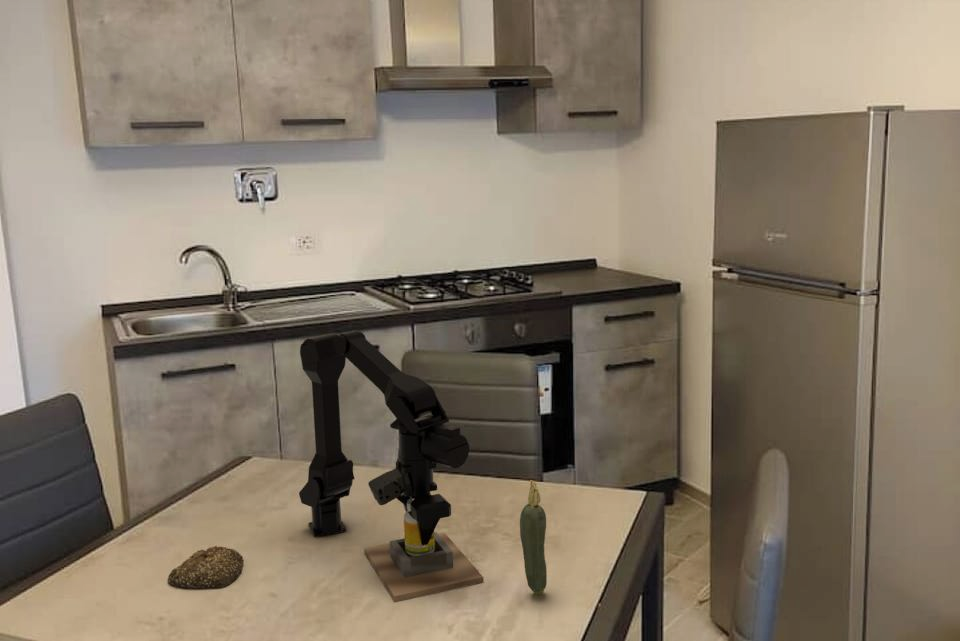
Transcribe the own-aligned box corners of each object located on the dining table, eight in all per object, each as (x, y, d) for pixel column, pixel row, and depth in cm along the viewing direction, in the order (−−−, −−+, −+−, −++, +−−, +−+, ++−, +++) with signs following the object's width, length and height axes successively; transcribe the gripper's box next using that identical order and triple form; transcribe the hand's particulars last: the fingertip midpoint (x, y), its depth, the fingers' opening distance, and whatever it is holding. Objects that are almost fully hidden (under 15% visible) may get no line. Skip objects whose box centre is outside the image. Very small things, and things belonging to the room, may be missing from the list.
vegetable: (545, 603, 144) (543, 488, 140) (519, 601, 145) (517, 487, 141) (549, 590, 148) (547, 478, 144) (523, 588, 149) (521, 477, 145)
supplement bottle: (407, 544, 160) (405, 495, 158) (436, 544, 160) (435, 495, 158) (402, 557, 155) (400, 506, 153) (432, 558, 154) (430, 507, 153)
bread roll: (225, 593, 151) (222, 567, 150) (159, 589, 153) (157, 563, 152) (257, 560, 163) (255, 535, 162) (196, 556, 165) (193, 532, 165)
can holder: (364, 553, 164) (363, 533, 163) (444, 537, 170) (443, 517, 169) (394, 601, 146) (393, 579, 145) (483, 582, 151) (482, 560, 151)
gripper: (358, 446, 159) (362, 526, 162) (386, 480, 142) (391, 569, 145) (416, 437, 163) (419, 515, 166) (450, 469, 146) (453, 556, 149)
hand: (419, 538), depth 157 cm, fingers closed on supplement bottle, 5 cm apart
